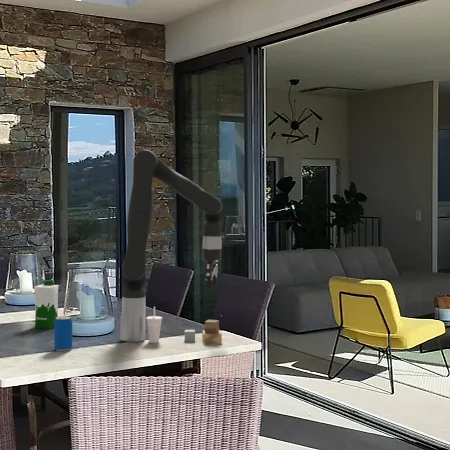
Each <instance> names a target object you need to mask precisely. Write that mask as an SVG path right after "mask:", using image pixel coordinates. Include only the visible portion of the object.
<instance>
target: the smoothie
mask: <svg viewBox="0 0 450 450" xmlns="http://www.w3.org/2000/svg"><path fill="white" fill-rule="evenodd" d="M162 321H163V316H158V315H156V306H153V316H152V315H150V316H147V317H146V316H145V322H146V325H147V333H148V334H147V335H148V343H150V344H157V343H159V341H160V333H161V325H162Z"/></svg>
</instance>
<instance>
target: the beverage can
mask: <svg viewBox="0 0 450 450" xmlns="http://www.w3.org/2000/svg"><path fill="white" fill-rule="evenodd" d="M53 329H54V332H53V333H54V334H53V336H54V337H53V338H54V339H53V340H54V346H53V347H54V350H56V351H57V352H69V351H71V349H72V348H73V320H72V317H71V316H70V315H69V316H67V315H65V316H64V315H61V316H58V317H56V319H55V321H54V328H53Z"/></svg>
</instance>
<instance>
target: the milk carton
mask: <svg viewBox="0 0 450 450" xmlns="http://www.w3.org/2000/svg"><path fill="white" fill-rule="evenodd" d="M33 288H34V295H35V301H34V302H35V303H34V304H35V308H34V310H35V317H34V318H35V320H34V323H35V324H34V329H42V330H44V329H45V330H47V329H48V330H52V329H54V321H55V319H56V317H59V316H58V315H59V314H58V311H59V307H58V295H59V284H54V280H53V279H45V280H43V284H38V285H36V286H34V287H33Z"/></svg>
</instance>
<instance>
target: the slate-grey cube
mask: <svg viewBox="0 0 450 450" xmlns="http://www.w3.org/2000/svg"><path fill="white" fill-rule="evenodd" d="M184 342H187V343H190V342H192V343H193V342H194V343H196V330H195V329H184Z"/></svg>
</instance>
